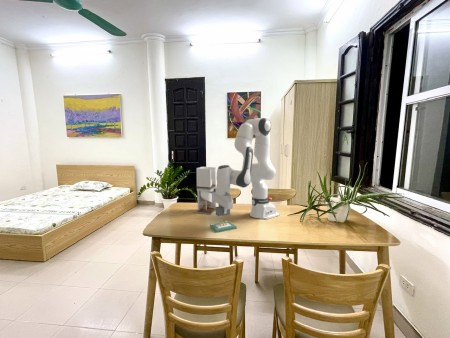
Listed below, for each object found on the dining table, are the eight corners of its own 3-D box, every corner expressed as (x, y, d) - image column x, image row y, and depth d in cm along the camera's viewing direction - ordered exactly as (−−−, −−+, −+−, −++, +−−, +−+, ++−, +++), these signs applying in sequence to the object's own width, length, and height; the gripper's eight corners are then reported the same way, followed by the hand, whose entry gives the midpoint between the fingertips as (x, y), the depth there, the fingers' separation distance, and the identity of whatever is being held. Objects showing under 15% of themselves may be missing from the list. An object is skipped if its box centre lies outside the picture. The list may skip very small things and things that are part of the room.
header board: (229, 223, 154) (229, 221, 154) (236, 228, 145) (236, 226, 145) (210, 227, 148) (210, 224, 147) (216, 232, 139) (216, 230, 139)
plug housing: (226, 212, 149) (227, 205, 148) (229, 214, 145) (230, 207, 144) (215, 214, 145) (215, 206, 144) (218, 216, 141) (218, 208, 140)
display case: (197, 213, 176) (196, 168, 171) (203, 209, 185) (202, 166, 181) (210, 214, 172) (210, 169, 167) (216, 210, 181) (215, 167, 177)
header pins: (226, 224, 148) (226, 220, 147) (226, 225, 147) (226, 220, 146) (219, 225, 145) (219, 221, 145) (220, 226, 145) (220, 221, 144)
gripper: (235, 194, 135) (235, 216, 137) (220, 187, 153) (220, 207, 155) (226, 194, 132) (226, 217, 134) (212, 188, 150) (211, 208, 152)
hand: (222, 212), depth 145 cm, fingers closed on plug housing, 4 cm apart
